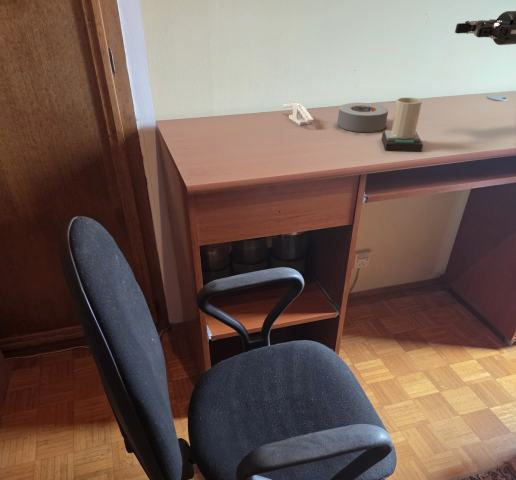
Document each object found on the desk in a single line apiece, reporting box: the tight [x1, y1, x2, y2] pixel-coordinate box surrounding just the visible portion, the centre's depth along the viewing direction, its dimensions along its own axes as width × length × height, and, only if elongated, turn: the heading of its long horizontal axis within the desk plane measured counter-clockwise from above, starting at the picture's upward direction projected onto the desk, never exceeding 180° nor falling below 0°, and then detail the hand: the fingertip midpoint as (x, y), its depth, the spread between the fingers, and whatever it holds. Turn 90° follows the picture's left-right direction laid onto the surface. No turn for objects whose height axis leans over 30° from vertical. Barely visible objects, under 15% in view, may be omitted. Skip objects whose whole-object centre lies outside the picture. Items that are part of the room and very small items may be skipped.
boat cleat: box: [282, 102, 315, 126], centre depth 148 cm, size 4×20×6 cm, turn 20°
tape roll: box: [337, 102, 389, 133], centre depth 144 cm, size 15×15×5 cm
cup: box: [391, 97, 423, 139], centre depth 126 cm, size 7×7×9 cm
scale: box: [381, 129, 424, 153], centre depth 129 cm, size 10×10×3 cm
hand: (467, 30), depth 118 cm, fingers open, 8 cm apart
